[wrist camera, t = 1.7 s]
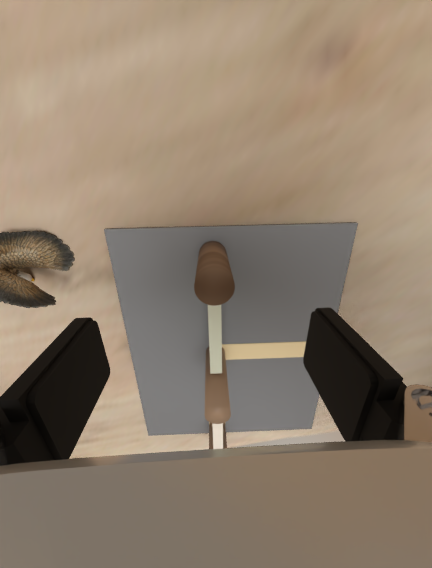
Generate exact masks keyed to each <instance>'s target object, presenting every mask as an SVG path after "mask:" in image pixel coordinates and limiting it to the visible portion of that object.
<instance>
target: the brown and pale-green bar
mask: <svg viewBox="0 0 432 568" xmlns="http://www.w3.org/2000/svg"><path fill="white" fill-rule="evenodd" d="M234 290H235V283H234V279H233V275H232V272H231V268H230V264H229V260H228V256H227V252H226V249H225V247H224V246H223V245H222V244H221V243H219V242H217V241H209V242H206V243H205V244H203V245H202V247H201V248H200V250H199V256H198V263H197V270H196V276H195V283H194V291H195V294H196V296H197V297H198V299H199V300H200V301H202V302H203V303H205V304H207V305H208V326H209V351H210V374H217V373H222V321H221V304H224V303H226V302H227V301H228V300H229V299H230V298H231V297H232V296H233V294H234Z"/></svg>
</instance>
